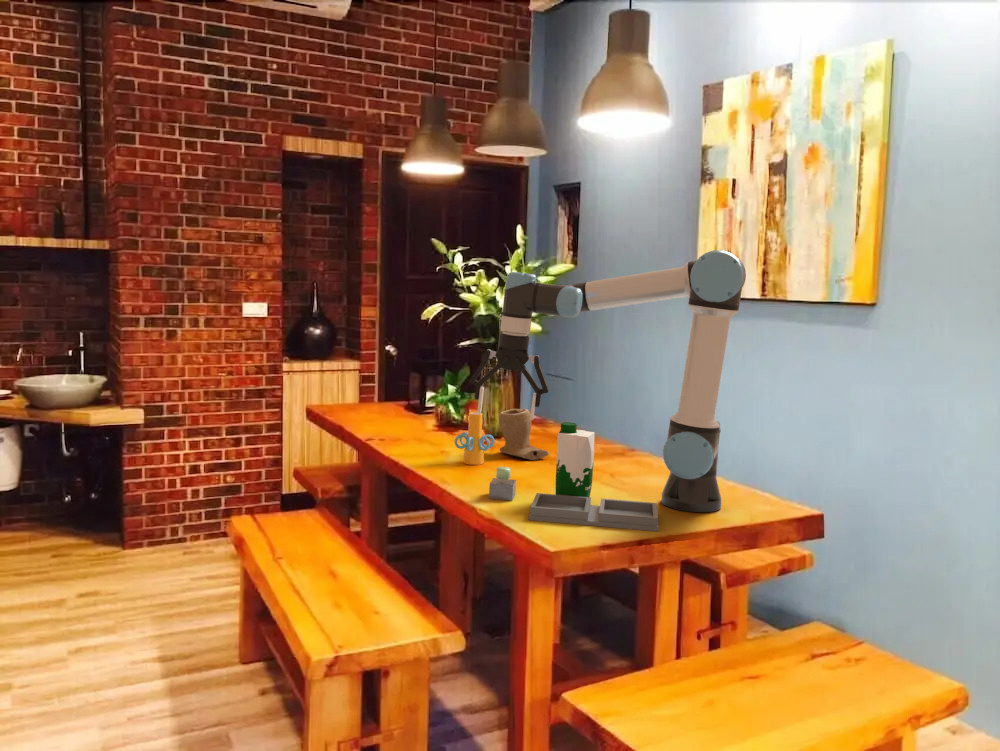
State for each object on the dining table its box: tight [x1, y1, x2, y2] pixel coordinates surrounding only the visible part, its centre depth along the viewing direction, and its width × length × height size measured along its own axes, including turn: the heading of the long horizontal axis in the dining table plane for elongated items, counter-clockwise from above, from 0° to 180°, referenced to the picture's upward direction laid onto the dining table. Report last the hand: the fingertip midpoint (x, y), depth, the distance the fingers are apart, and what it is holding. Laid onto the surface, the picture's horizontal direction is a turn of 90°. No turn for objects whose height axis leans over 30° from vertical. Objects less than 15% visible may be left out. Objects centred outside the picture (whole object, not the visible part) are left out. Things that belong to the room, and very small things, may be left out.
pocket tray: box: [528, 492, 659, 532], centre depth 211 cm, size 30×14×3 cm, turn 81°
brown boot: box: [498, 408, 550, 461], centre depth 275 cm, size 15×12×15 cm
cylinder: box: [454, 411, 495, 466], centre depth 263 cm, size 12×10×15 cm
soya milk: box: [555, 421, 596, 498], centre depth 223 cm, size 9×9×20 cm
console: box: [488, 477, 517, 502], centre depth 226 cm, size 6×6×4 cm
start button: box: [495, 466, 512, 479], centre depth 225 cm, size 4×4×2 cm
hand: (505, 415), depth 226 cm, fingers open, 13 cm apart
